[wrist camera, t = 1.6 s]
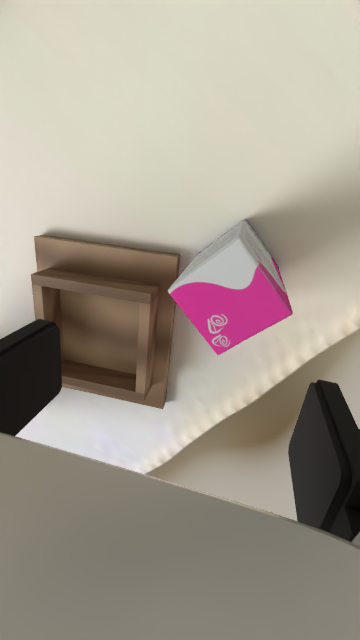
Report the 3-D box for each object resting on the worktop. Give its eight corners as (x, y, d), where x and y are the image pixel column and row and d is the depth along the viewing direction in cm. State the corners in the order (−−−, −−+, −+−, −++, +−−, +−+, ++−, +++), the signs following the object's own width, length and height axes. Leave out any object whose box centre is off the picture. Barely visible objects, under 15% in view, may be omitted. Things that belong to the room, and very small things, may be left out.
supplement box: (193, 256, 29) (163, 289, 19) (245, 217, 27) (244, 230, 17) (227, 303, 30) (217, 358, 20) (280, 269, 28) (300, 312, 18)
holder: (41, 235, 32) (13, 240, 28) (180, 254, 29) (169, 263, 26) (53, 377, 39) (31, 397, 35) (165, 402, 37) (155, 426, 33)
